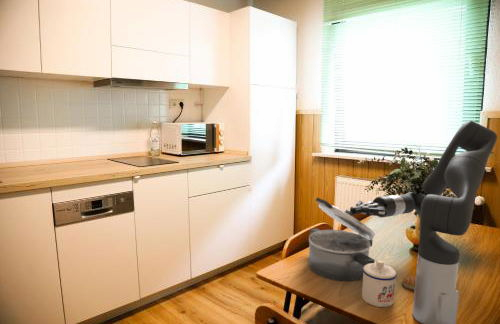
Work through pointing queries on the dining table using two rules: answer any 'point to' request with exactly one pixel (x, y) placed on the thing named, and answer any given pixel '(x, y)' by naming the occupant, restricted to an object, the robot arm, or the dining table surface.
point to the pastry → (409, 282)
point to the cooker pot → (338, 254)
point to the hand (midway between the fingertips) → (351, 210)
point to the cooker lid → (345, 218)
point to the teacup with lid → (378, 284)
